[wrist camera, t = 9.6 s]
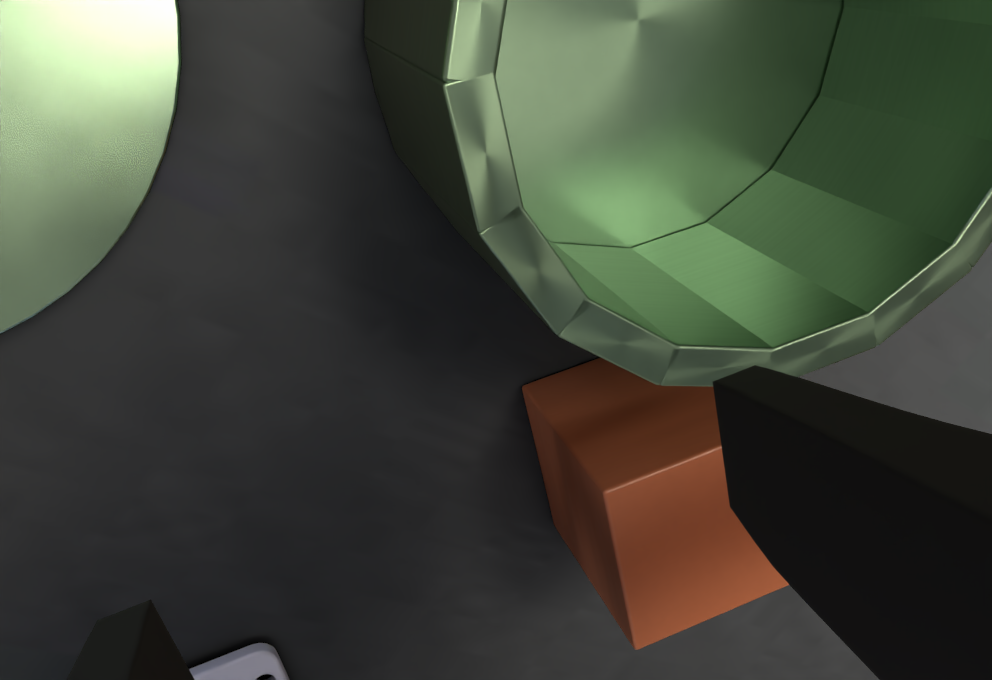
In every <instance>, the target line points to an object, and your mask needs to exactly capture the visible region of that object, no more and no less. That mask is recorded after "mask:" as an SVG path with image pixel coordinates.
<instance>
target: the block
mask: <svg viewBox="0 0 992 680" xmlns="http://www.w3.org/2000/svg"><path fill="white" fill-rule="evenodd" d="M522 391H523V395H524V400H525V404H526V408H527V412H528V417H529V421H530V425H531V429H532V433H533V438H534V442H535V446H536V450H537V454H538V459H539V463H540V467H541V471H542V475H543V480H544V484H545V488H546V492H547V497H548V501H549V505H550V509H551V513H552V518H553V522H554V526H555V527H556V529H557V530H558V532H559V534H560V535H561V537H562V538H563V540H564V541H565V543H566V544H567V546H568V547H569V549H570V550H571V552H572V554H573V555H574V557H575V558H576V560H577V561H578V563H579V564H580V566H581V567H582V569H583V571H584V572H585V574H586V575H587V577H588V578H589V580H590V581H591V583H592V584H593V586H594V588H595V589H596V591H597V592H598V594H599V595H600V597H601V598H602V600H603V601H604V603H605V605H606V606H607V608H608V609H609V611H610V612H611V614H612V615H613V617H614V618H615V620H616V622H617V623H618V625H619V626H620V628H621V629H622V631H623V632H624V634H625V635H626V637H627V639H628V640H629V642H630V643H631V645H632V646H633V648H634V649H636V650H638V649H641V648H643V647H645V646H648V645H650V644H652V643H655V642H657V641H659V640H662V639H664V638H666V637H669V636H671V635H673V634H676V633H678V632H680V631H683V630H685V629H687V628H690V627H692V626H694V625H697V624H699V623H701V622H704V621H706V620H708V619H711V618H713V617H715V616H718V615H720V614H722V613H724V612H727V611H729V610H731V609H734V608H736V607H738V606H741V605H743V604H745V603H748V602H750V601H752V600H755V599H757V598H759V597H762V596H764V595H766V594H769V593H771V592H773V591H776V590H778V589H780V588H783V587H785V586H787V585H789V584H788V583H787V581H786V580H785V579H784V578H783V577H782V576H781V575H780V574H779V573H778V572H777V571H776V569H775V568H774V567H773V566H772V565H771V563H770V562H769V561H768V559H767V558H766V556H765V555H764V554H763V552H762V551H761V550H760V548H759V547H758V546H757V544H756V543H755V542H754V540H753V539H752V538H751V536H750V535H749V533H748V532H747V530H746V529H745V528H744V526H743V525H742V523H741V522H740V520H739V519H738V518H737V516H736V515H735V513H734V512H733V510H732V509H731V508H730V504H729V497H728V490H727V482H726V475H725V468H724V461H723V454H722V446H721V439H720V432H719V425H718V417H717V410H716V403H715V396H714V389H713V387H708V386H661V385H655V384H653V383H651V382H649V381H647V380H645V379H643V378H641V377H639V376H637V375H635V374H633V373H631V372H629V371H627V370H625V369H623V368H621V367H619V366H616V365H614V364H612V363H610V362H608V361H606V360H604V359H602V358H598V359H595V360H592V361H589V362H587V363H584V364H581V365H578V366H576V367H573V368H570V369H567V370H565V371H562V372H559V373H556V374H554V375H551V376H548V377H545V378H543V379H540V380H537V381H534V382H532V383H529V384H526V385H524V386H522Z"/></svg>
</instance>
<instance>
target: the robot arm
mask: <svg viewBox="0 0 992 680" xmlns="http://www.w3.org/2000/svg"><path fill="white" fill-rule="evenodd" d="M713 389H714V396H715V403H716V410H717V417H718V425H719V432H720V439H721V446H722V454H723V461H724V468H725V475H726V482H727V490H728V497H729V504H730V508H731V509H732V510H733V512H734V513H735V515H736V516H737V518H738V519H739V520H740V522H741V523H742V525H743V526H744V528H745V529H746V530H747V532H748V533H749V535H750V536H751V538H752V539H753V540H754V542H755V543H756V544H757V546H758V547H759V548H760V550H761V551H762V552H763V554H764V555H765V556H766V558H767V559H768V561H769V562H770V563H771V565H772V566H773V567H774V568H775V569H776V571H777V572H778V573H779V574H780V575H781V576H782V577H783V578H784V579H785V580H786V581H787V583H788V584H789V585H790V586H791V587H792V588H793V589H794V590H795V591H796V592H797V593H798V594H799V595H800V596H801V597H802V599H803V600H804V601H805V602H806V603H807V604H808V605H809V606H810V607H811V608H812V609H813V610H814V611H815V612H816V613H817V614H818V616H819V617H820V618H821V619H822V620H823V621H824V622H825V623H826V624H827V625H828V626H829V627H830V628H831V629H832V630H833V631H834V632H835V633H836V634H837V635H838V636H839V637H840V639H841V640H842V641H843V642H844V643H845V644H846V645H847V646H848V647H849V648H850V649H851V650H852V651H853V652H854V653H855V654H856V655H857V656H858V657H859V658H860V659H861V661H862V662H863V663H864V664H865V665H866V666H867V667H868V668H869V669H870V670H871V671H872V672H873V673H874V674H875V675H876V676H877V677H878V678H879V679H880V680H992V434H989V433H985V432H981V431H977V430H973V429H969V428H965V427H961V426H957V425H953V424H949V423H946V422H942V421H938V420H935V419H931V418H928V417H924V416H920V415H917V414H914V413H910V412H907V411H903V410H900V409H897V408H893V407H890V406H887V405H884V404H880V403H877V402H874V401H871V400H867V399H864V398H861V397H858V396H855V395H852V394H848V393H845V392H842V391H839V390H836V389H833V388H830V387H827V386H823V385H820V384H817V383H814V382H811V381H808V380H805V379H802V378H798V377H795V376H792V375H789V374H785V373H782V372H779V371H775V370H772V369H768V368H764V367H760V366H756V365H754V366H752V367H749V368H747V369H744V370H741V371H739V372H736V373H734V374H731V375H729V376H726V377H723V378H721V379H718V380H716V381H713ZM265 674H270V675H272V676H271V677H269V678H268V679H264V680H290V679H289V677H288V675H287V673H286V670H285V668H284V666H283V664H282V662H281V659H280V657H279V655H278V653H277V651H276V650H275V648H274V647H273V646H271V645H269V644H267V643H256V644H252V645H249V646H246V647H244V648H241V649H239V650H236V651H234V652H231V653H229V654H226V655H223V656H221V657H218V658H216V659H213V660H211V661H208V662H206V663H203V664H201V665H198V666H196V667H193V668H191V669H188V667H187V665H186V663H185V661H184V660H183V658H182V656H181V654H180V652H179V650H178V649H177V647H176V645H175V643H174V641H173V639H172V638H171V636H170V634H169V632H168V630H167V629H166V627H165V625H164V623H163V621H162V619H161V618H160V616H159V614H158V612H157V610H156V608H155V607H154V605H153V603H152V601H151V600H149V601H147V602H144V603H141V604H139V605H136V606H134V607H131V608H128V609H126V610H123V611H121V612H118V613H116V614H113V615H110V616H108V617H105V618H103V619H100V620H98V621H97V623H96V624H95V626H94V628H93V630H92V632H91V634H90V636H89V638H88V639H87V641H86V643H85V645H84V647H83V649H82V651H81V653H80V655H79V657H78V659H77V661H76V662H75V664H74V666H73V668H72V670H71V672H70V674H69V676H68V678H67V680H259V679H257V678H258V677H260V676H261V675H265Z"/></svg>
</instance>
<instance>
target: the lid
mask: <svg viewBox="0 0 992 680" xmlns="http://www.w3.org/2000/svg"><path fill="white" fill-rule="evenodd" d="M181 66H182V56H181V20H180V10H179V4H178V0H0V334H2V333H4V332H6V331H8V330H10V329H12V328H14V327H15V326H17V325H19V324H21V323H23V322H25V321H27V320H29V319H30V318H32V317H34V316H36V315H37V314H39V313H40V312H41V311H43V310H44V309H46V308H47V307H48V306H50V305H51V304H53V303H54V302H55V301H57V300H58V299H60V298H61V297H62V296H64V295H65V294H67V293H68V292H69V291H71V290H72V289H73V288H74V287H75V286H76V285H77V284H78V283H79V282H80V281H81V280H82V279H83V278H85V277H86V276H87V275H88V274H89V273H90V272H91V271H92V270H93V269H94V268H95V267H96V266H97V265H98V264H99V263H101V262H102V260H103V259H104V258H105V257H106V255H107V254H108V253H109V252H110V250H111V249H112V248H113V247H114V245H115V244H116V243H117V242H118V240H119V239H120V238H121V237H122V235H123V234H124V233H125V232H126V231H127V229H128V228H129V226H130V224H131V223H132V221H133V219H134V218H135V216H136V214H137V213H138V211H139V209H140V208H141V206H142V204H143V202H144V201H145V199H146V197H147V196H148V194H149V192H150V190H151V188H152V185H153V183H154V180H155V178H156V175H157V173H158V170H159V168H160V166H161V163H162V161H163V158H164V156H165V153H166V150H167V146H168V142H169V138H170V134H171V130H172V126H173V122H174V119H175V115H176V111H177V103H178V94H179V84H180V75H181Z"/></svg>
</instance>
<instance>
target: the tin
mask: <svg viewBox="0 0 992 680" xmlns="http://www.w3.org/2000/svg"><path fill="white" fill-rule="evenodd" d="M364 20H365V29H364V35H365V38H364V43H365V46H366V50H367V56H368V61H369V66H370V70H371V75H372V80H373V85H374V90H375V94H376V97H377V99H378V102H379V105H380V108H381V111H382V114H383V117H384V120H385V123H386V126H387V128H388V130H389V134H390V137H391V141H392V145H393V148H394V150H395V152H396V154H397V155H398V156H399V158H400V159H401V160H402V161H403V163H404V164H405V165H406V167H407V168H408V169H409V170H410V172H411V173H412V174H413V176H414V177H415V178H416V179H417V181H418V182H419V184H420V185H421V187H422V188H423V189H424V190H425V191H426V193H427V194H428V195H429V196H430V197H431V199H432V200H433V201H434V202H435V204H436V205H437V206H438V207H439V209H440V210H441V211H442V213H443V214H444V215H445V216H446V218H447V219H448V220H449V222H450V223H451V224H452V225H453V227H454V228H455V229H456V230H457V232H458V233H459V234H460V235H461V236H462V237H463V238H464V239H465V240H466V241H467V242H468V243H469V244H470V245H471V246H472V247H473V248H474V249H475V251H476V252H477V253H478V254H479V255H480V256H481V257H482V258H483V259H484V260H485V261H486V262H487V263H488V264H489V265H490V266H491V267H492V268H493V270H494V271H495V272H496V273H497V274H498V275H499V276H500V277H501V278H502V279H503V280H504V281H505V282H506V283H507V284H508V285H509V286H510V287H511V288H512V290H513V291H514V292H515V293H516V294H517V295H518V296H519V297H520V298H521V299H522V300H523V301H524V302H525V303H526V304H527V305H528V306H529V307H530V309H531V310H532V311H533V312H534V313H535V314H536V315H537V316H538V317H539V318H540V319H541V320H542V321H543V322H544V323H545V324H546V325H547V326H548V327H549V329H550V330H551V331H552V332H553V333H554V334H556V335H557V336H558V337H560V338H562V339H564V340H566V341H568V342H570V343H572V344H574V345H576V346H578V347H580V348H582V349H584V350H586V351H588V352H590V353H592V354H594V355H596V356H598V357H600V358H602V359H604V360H606V361H608V362H610V363H612V364H614V365H616V366H619V367H621V368H623V369H625V370H627V371H629V372H631V373H633V374H635V375H637V376H639V377H641V378H643V379H645V380H647V381H649V382H651V383H653V384H655V385H661V386H708V387H713V381H716V380H718V379H721V378H723V377H726V376H729V375H731V374H734V373H736V372H739V371H741V370H744V369H747V368H749V367H752V366H754V365H756V366H760V367H764V368H768V369H772V370H775V371H779V372H782V373H785V374H789V375H792V376H795V377H799V376H802V375H804V374H807V373H810V372H812V371H815V370H817V369H820V368H823V367H825V366H828V365H830V364H833V363H836V362H838V361H841V360H844V359H846V358H849V357H851V356H854V355H857V354H859V353H862V352H864V351H867V350H870V349H872V348H875V347H876V345H877V346H878V345H880V344H881V343H882V342H884V341H885V340H886V339H887V338H889V337H890V336H891V335H892V334H893V333H895V332H896V331H897V330H898V329H900V328H901V327H902V326H903V325H905V324H906V323H907V322H908V321H910V320H911V319H912V318H913V317H914V316H916V315H917V314H918V313H919V312H921V311H922V310H923V309H924V308H926V307H927V306H928V305H929V304H930V303H932V302H933V301H934V300H935V299H937V298H938V297H939V296H940V295H942V294H943V293H944V292H945V291H947V290H948V289H949V288H950V287H951V286H953V285H954V284H955V283H956V282H958V281H959V280H960V279H961V278H963V277H964V276H965V275H966V274H968V273H969V272H970V271H971V269H972V268H971V267H974V266H975V264H976V263H977V262H978V260H979V259H980V257H981V256H982V255H983V253H984V252H985V250H986V249H987V247H988V246H989V245H990V243H991V242H992V0H365V6H364Z"/></svg>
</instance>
